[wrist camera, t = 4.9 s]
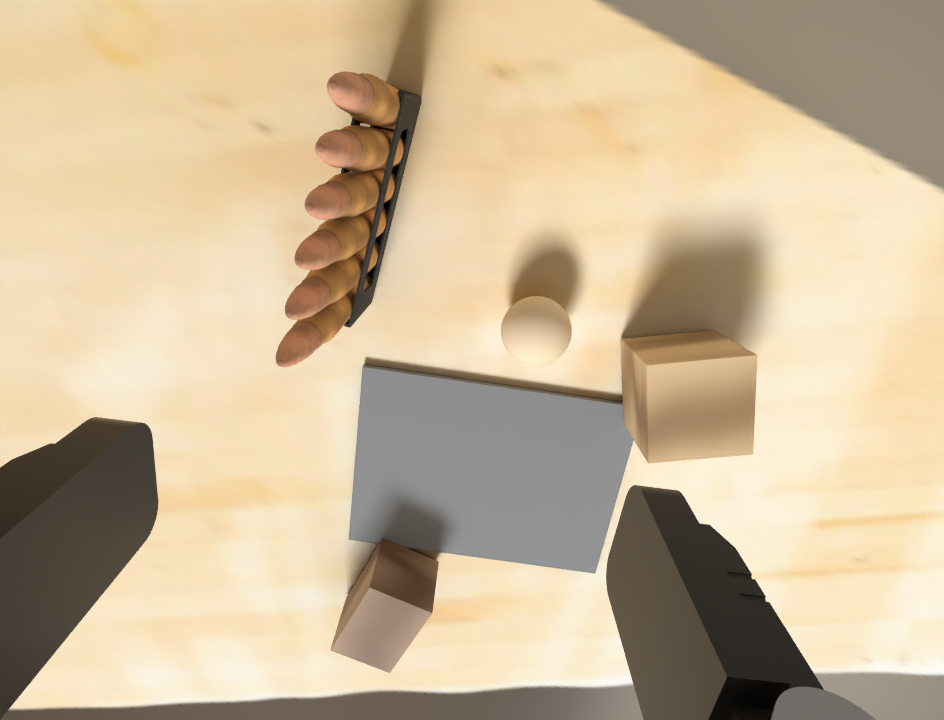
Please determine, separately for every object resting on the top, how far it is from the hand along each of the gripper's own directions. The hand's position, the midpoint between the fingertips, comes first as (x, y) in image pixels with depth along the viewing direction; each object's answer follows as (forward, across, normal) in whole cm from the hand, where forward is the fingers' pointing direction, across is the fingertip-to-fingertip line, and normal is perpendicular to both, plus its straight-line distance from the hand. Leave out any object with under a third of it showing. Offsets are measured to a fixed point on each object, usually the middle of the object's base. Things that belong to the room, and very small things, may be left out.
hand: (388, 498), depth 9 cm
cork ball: (+19, -5, +3) cm, 20 cm away
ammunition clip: (+22, +4, -2) cm, 22 cm away
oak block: (+21, -13, +5) cm, 25 cm away
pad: (+21, -4, +13) cm, 25 cm away
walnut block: (+21, +1, +22) cm, 30 cm away
